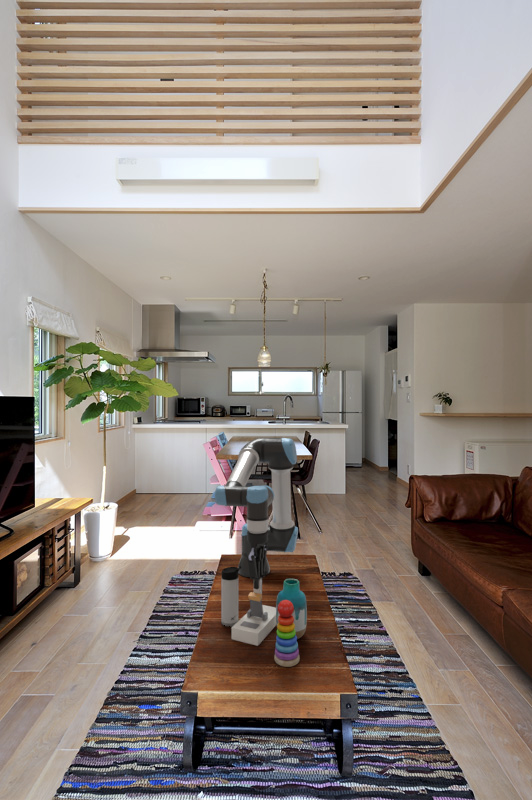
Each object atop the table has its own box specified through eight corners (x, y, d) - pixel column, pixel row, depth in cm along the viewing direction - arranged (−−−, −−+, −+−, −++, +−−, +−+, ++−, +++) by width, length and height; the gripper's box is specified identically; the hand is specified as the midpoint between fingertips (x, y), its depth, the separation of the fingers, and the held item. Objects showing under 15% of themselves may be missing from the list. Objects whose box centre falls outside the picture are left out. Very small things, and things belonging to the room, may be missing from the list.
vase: (290, 626, 164) (290, 573, 164) (313, 637, 157) (313, 581, 157) (269, 636, 157) (269, 581, 157) (292, 648, 149) (292, 590, 149)
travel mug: (236, 627, 163) (236, 571, 163) (219, 625, 165) (219, 570, 164) (241, 619, 169) (241, 565, 169) (224, 617, 171) (224, 564, 171)
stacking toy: (298, 653, 147) (298, 595, 147) (300, 668, 139) (300, 606, 139) (273, 653, 146) (273, 595, 146) (274, 668, 138) (274, 606, 138)
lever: (253, 613, 164) (250, 591, 162) (264, 615, 162) (261, 594, 160) (250, 617, 163) (248, 595, 161) (262, 619, 161) (259, 597, 159)
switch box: (257, 614, 174) (257, 598, 174) (281, 619, 169) (281, 603, 169) (231, 639, 155) (231, 621, 155) (257, 645, 151) (257, 627, 151)
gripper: (255, 524, 170) (256, 588, 170) (239, 534, 158) (239, 602, 158) (274, 527, 166) (274, 591, 166) (259, 536, 155) (259, 606, 155)
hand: (257, 596), depth 162 cm, fingers closed
